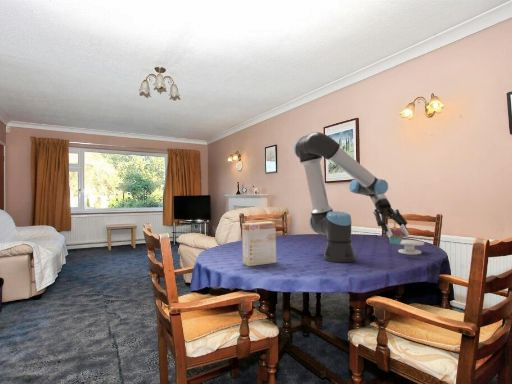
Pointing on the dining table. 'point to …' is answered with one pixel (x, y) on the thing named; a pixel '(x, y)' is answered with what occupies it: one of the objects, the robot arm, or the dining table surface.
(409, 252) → the cake stand
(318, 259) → the dining table surface
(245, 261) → the coffeecake box
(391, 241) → the cupcake
